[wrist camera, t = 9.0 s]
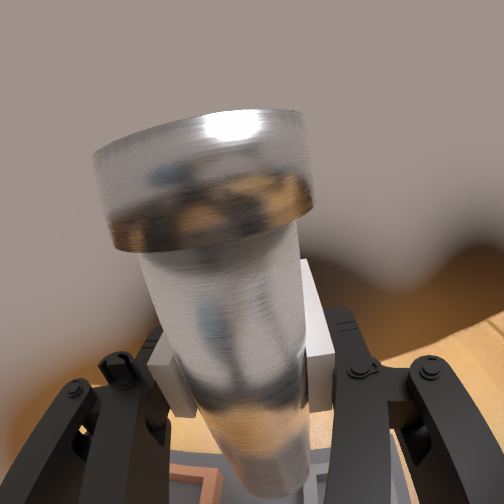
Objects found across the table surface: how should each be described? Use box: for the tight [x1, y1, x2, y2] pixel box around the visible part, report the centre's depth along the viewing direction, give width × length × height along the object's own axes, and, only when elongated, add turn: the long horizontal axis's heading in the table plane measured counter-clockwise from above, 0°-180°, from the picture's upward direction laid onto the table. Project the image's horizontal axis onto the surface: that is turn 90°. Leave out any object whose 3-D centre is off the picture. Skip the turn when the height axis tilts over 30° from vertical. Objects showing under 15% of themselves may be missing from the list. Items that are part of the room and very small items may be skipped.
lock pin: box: [92, 109, 315, 499], centre depth 9 cm, size 5×5×16 cm
